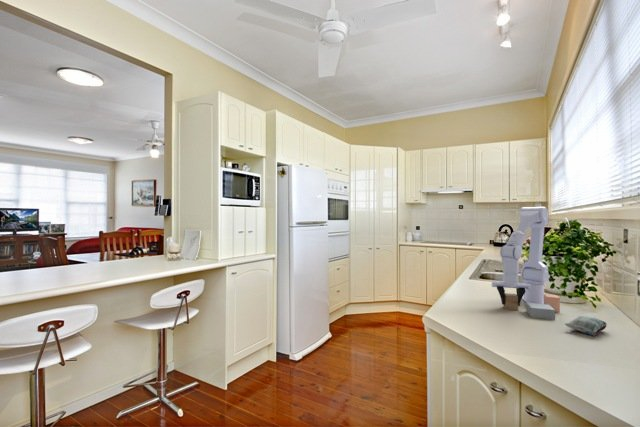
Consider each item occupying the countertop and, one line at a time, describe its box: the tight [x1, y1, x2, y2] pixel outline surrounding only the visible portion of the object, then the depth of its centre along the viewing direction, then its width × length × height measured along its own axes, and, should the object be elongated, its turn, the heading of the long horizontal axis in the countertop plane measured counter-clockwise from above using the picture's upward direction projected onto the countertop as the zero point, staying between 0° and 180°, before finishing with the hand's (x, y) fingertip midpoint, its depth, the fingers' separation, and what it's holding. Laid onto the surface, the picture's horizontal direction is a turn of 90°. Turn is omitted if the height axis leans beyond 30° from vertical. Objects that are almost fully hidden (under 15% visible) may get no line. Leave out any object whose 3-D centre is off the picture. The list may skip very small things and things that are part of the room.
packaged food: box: [564, 315, 608, 336], centre depth 113 cm, size 9×12×5 cm
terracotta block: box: [544, 293, 561, 313], centre depth 138 cm, size 4×4×6 cm
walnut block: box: [503, 292, 519, 311], centre depth 140 cm, size 4×4×6 cm
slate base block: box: [525, 302, 556, 321], centre depth 131 cm, size 8×8×4 cm
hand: (510, 304), depth 140 cm, fingers open, 5 cm apart
